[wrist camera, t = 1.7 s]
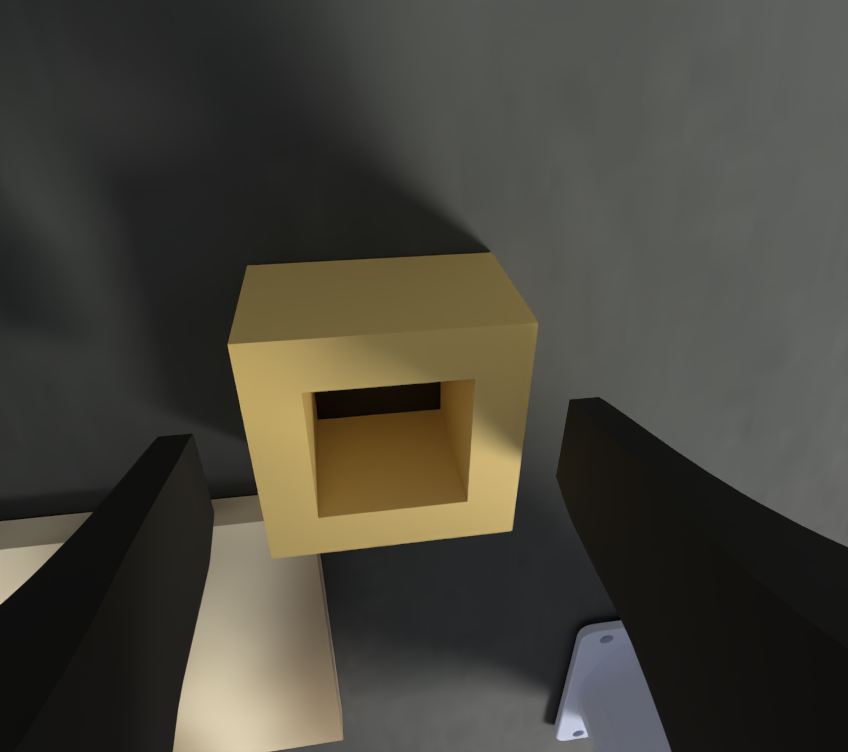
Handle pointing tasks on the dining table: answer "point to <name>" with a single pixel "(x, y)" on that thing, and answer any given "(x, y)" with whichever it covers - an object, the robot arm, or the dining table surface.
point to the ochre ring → (375, 367)
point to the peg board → (232, 635)
